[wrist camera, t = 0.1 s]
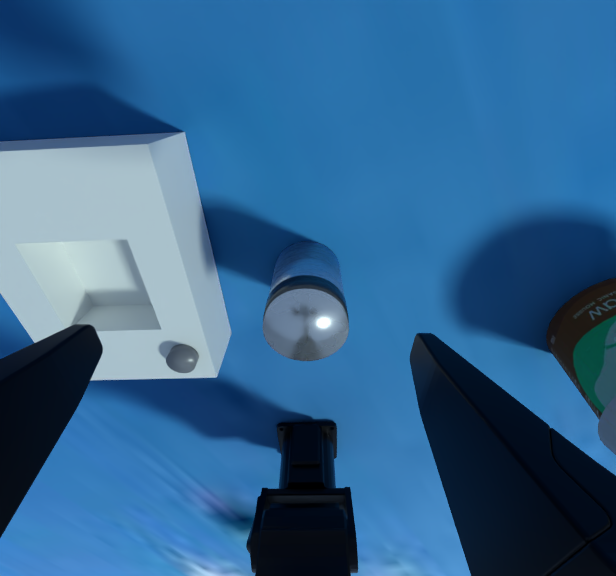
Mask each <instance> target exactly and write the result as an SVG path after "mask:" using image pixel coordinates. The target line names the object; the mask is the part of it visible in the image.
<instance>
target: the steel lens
mask: <svg viewBox="0 0 616 576" xmlns="http://www.w3.org/2000/svg"><path fill="white" fill-rule="evenodd" d="M348 323H349V321H348V313H347V306H346V301H345V298H344V292H343V285H342V278H341V272H340V266H339V262H338V259H337V257H336V256H335V254H334V253H333V252H332V251H331V250H330V249H329V248H328V247H326V246H324V245H322V244H320V243H317V242H311V241H304V242H298V243H295V244H292V245H290V246H289V247H287V248H286V249H285V250H283V251H282V253H281V254H280V255H279V257H278V259H277V261H276V265H275V270H274V274H273V279H272V284H271V288H270V293H269V297H268V299H267V303H266V308H265V312H264V318H263V333H264V336H265V339H266V341H267V342H268V344H269V345H270V346H271V347H272V348H273V349H274V350H275V351H276V352H278V353H279V354H281V355H283V356H285V357H287V358H290V359H294V360H300V361H313V360H319V359H322V358H325V357H328V356H330V355H332V354H333V353H335V352H336V351H337V350H338V349H340V348H341V346H342V345H343V344H344V342H345V341H346V339H347V336H348V331H349V326H348Z"/></svg>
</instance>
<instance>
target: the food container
mask: <svg viewBox="0 0 616 576" xmlns="http://www.w3.org/2000/svg"><path fill="white" fill-rule="evenodd" d="M546 339H547V345H548V347H549V349H550V351H551V352H552V354H553V355H554V357H555V358H556V359H557V361H558V362H559V364H560V365H561V366H562V368H563V369H564V371H565V372H566V373H567V375H568V376H569V378H570V379H571V381H572V382H573V383H574V385H575V386H576V388H577V389H578V390H579V392H580V393H581V395H582V396H583V397H584V399H585V400H586V402H587V403H588V404H589V406H590V407H591V409H592V410H593V412H594V413H595V414H596V416H597V417H598V419H599V423H598V434H599V437H600V440H601V441H602V442H603V444H604V445H605V446H606V447H608V448H609V449H610V450H611V451H612V452H613V453H614V454H615V455H616V278H612V279H608V280H605V281H603V282H600V283H598V284H595V285H593V286H590V287H589V288H587V289H585V290H583V291H581V292H580V293H578V294H577V295H575V296H574V297H572V298H571V299H570V300H569V301H568V302H566V303H565V304H564V305H563V306H562V307H561V308H560V309H559V310H558V312H557V313H556V314H555V316H554V317H553V319H552V321H551V322H550V324H549V327H548V330H547V336H546Z"/></svg>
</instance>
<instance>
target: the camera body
mask: <svg viewBox="0 0 616 576" xmlns="http://www.w3.org/2000/svg"><path fill="white" fill-rule="evenodd" d="M0 293H1V295H2V296H3V298H4V299H5V300H6V302H7V303H8V305H9V306H10V308H11V309H12V311H13V312H14V314H15V315H16V316H17V318H18V319H19V321H20V322H21V324H22V325H23V327H24V328H25V329H26V331H27V332H28V334H29V335H30V337H31V338H32V340H33V341H34V343H36V342H38V341H40V340H42V339H44V338H46V337H49V336H51V335H53V334H55V333H57V332H59V331H61V330H63V329H65V328H68V327H70V326H72V325H74V324H90V325H92V326H93V327H94V328H95V330H96V332H97V334H98V337H99V339H100V341H101V343H102V346H103V353H102V356H101V358H100V360H99V362H98V365H97V367H96V369H95V371H94V373H93V375H92V378H91V380H129V379H174V378H217V375H218V372H219V369H220V366H221V363H222V360H223V357H224V354H225V351H226V348H227V345H228V342H229V339H230V336H231V329H230V325H229V321H228V316H227V312H226V308H225V303H224V299H223V295H222V291H221V286H220V282H219V278H218V273H217V269H216V265H215V261H214V256H213V252H212V248H211V243H210V239H209V235H208V230H207V226H206V222H205V218H204V213H203V209H202V205H201V200H200V196H199V192H198V187H197V183H196V179H195V175H194V170H193V166H192V162H191V157H190V153H189V149H188V145H187V140H186V136H185V132H175V133H155V134H136V135H116V136H97V137H78V138H58V139H39V140H19V141H0Z"/></svg>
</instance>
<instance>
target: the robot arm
mask: <svg viewBox="0 0 616 576" xmlns="http://www.w3.org/2000/svg"><path fill="white" fill-rule="evenodd" d="M102 353H103V346H102V343H101V341H100V339H99V337H98V334H97V332H96V330H95V328H94V327H93V326H92V325H90V324H74V325H72V326H70V327H68V328H65V329H63V330H61V331H59V332H57V333H55V334H53V335H51V336H49V337H46V338H44V339H42V340H40V341H38V342H36V343H34V344H32V345H29V346H27V347H25V348H23V349H21V350H19V351H17V352H15V353H13V354H10V355H8V356H6V357H4V358H2V359H0V538H1V536H2V534H3V533H4V531H5V529H6V528H7V526H8V524H9V522H10V521H11V519H12V517H13V516H14V514H15V512H16V511H17V509H18V507H19V505H20V504H21V502H22V500H23V499H24V497H25V495H26V494H27V492H28V490H29V489H30V487H31V485H32V483H33V482H34V480H35V478H36V477H37V475H38V473H39V472H40V470H41V468H42V466H43V465H44V463H45V461H46V460H47V458H48V456H49V455H50V453H51V451H52V450H53V448H54V446H55V444H56V443H57V441H58V439H59V438H60V436H61V434H62V433H63V431H64V429H65V427H66V426H67V424H68V422H69V421H70V419H71V417H72V416H73V414H74V412H75V410H76V409H77V407H78V405H79V403H80V401H81V399H82V397H83V395H84V393H85V391H86V388H87V386H88V384H89V382H90V380H91V378H92V375H93V373H94V371H95V369H96V367H97V365H98V362H99V360H100V358H101V356H102ZM410 364H411V369H412V375H413V380H414V385H415V390H416V395H417V400H418V405H419V410H420V414H421V418H422V421H423V424H424V428H425V431H426V434H427V437H428V440H429V443H430V447H431V450H432V453H433V456H434V459H435V462H436V466H437V469H438V472H439V475H440V478H441V481H442V485H443V488H444V491H445V494H446V497H447V500H448V504H449V507H450V510H451V513H452V516H453V519H454V523H455V526H456V529H457V532H458V535H459V538H460V542H461V545H462V548H463V551H464V554H465V557H466V561H467V564H468V567H469V570H470V573H471V576H616V476H615V475H614V474H612V473H611V472H610V471H608V470H607V469H606V468H604V467H603V466H601V465H600V464H599V463H597V462H596V461H595V460H593V459H592V458H591V457H589V456H588V455H587V454H585V453H584V452H583V451H581V450H580V449H579V448H577V447H576V446H575V445H574V444H572V443H571V442H570V441H568V440H567V439H566V438H565V437H563V436H562V435H561V434H559V433H558V432H557V431H556V430H554V429H553V428H550V427H549V425H548V424H547V423H545V422H544V421H543V420H542V419H540V418H539V417H538V416H536V415H535V414H534V413H533V412H531V411H530V410H529V409H528V408H526V407H525V406H524V405H522V404H521V403H520V402H519V401H517V400H516V399H515V398H514V397H512V396H511V395H510V394H509V393H507V392H506V391H505V390H503V389H502V388H501V387H500V386H498V385H497V384H496V383H495V382H493V381H492V380H491V379H489V378H488V377H487V376H486V375H484V374H483V373H482V372H481V371H479V370H478V369H477V368H475V367H474V366H473V365H472V364H470V363H469V362H468V361H467V360H465V359H464V358H463V357H462V356H460V355H459V354H458V353H456V352H455V351H454V350H453V349H451V348H450V347H449V346H448V345H446V344H445V343H444V342H442V341H441V340H440V339H439V338H437V337H436V336H435V335H433V334H431V333H418V334H416V336H415V339H414V342H413V346H412V350H411V354H410ZM277 433H278V439H279V445H280V451H281V469H280V480H279V489H268V488H262V492H261V496H259V497H258V499H257V507H256V513H255V518H254V521H253V524H252V528H251V531H250V534H249V537H248V540H247V550H248V552H249V553H250V557H251V568H252V572H253V573H256V575H255V576H351V574H350V573H358V557H357V542H356V531H355V523H354V515H353V507H352V499H351V491H350V487H345V488H336V486H335V468H334V459H335V458H336V457H337V426H336V424H335V423H333V422H324V423H280V424H278V425H277Z"/></svg>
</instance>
